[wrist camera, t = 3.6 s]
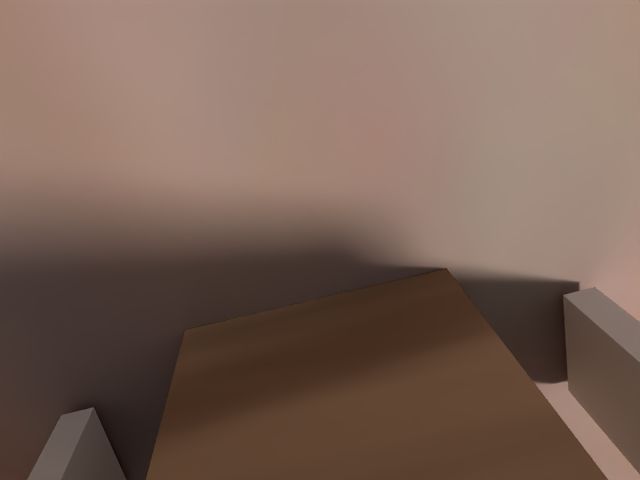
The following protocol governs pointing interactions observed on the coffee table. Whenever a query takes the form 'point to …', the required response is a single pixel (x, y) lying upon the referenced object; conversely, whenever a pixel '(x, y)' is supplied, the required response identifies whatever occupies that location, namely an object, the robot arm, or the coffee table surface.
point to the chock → (361, 395)
